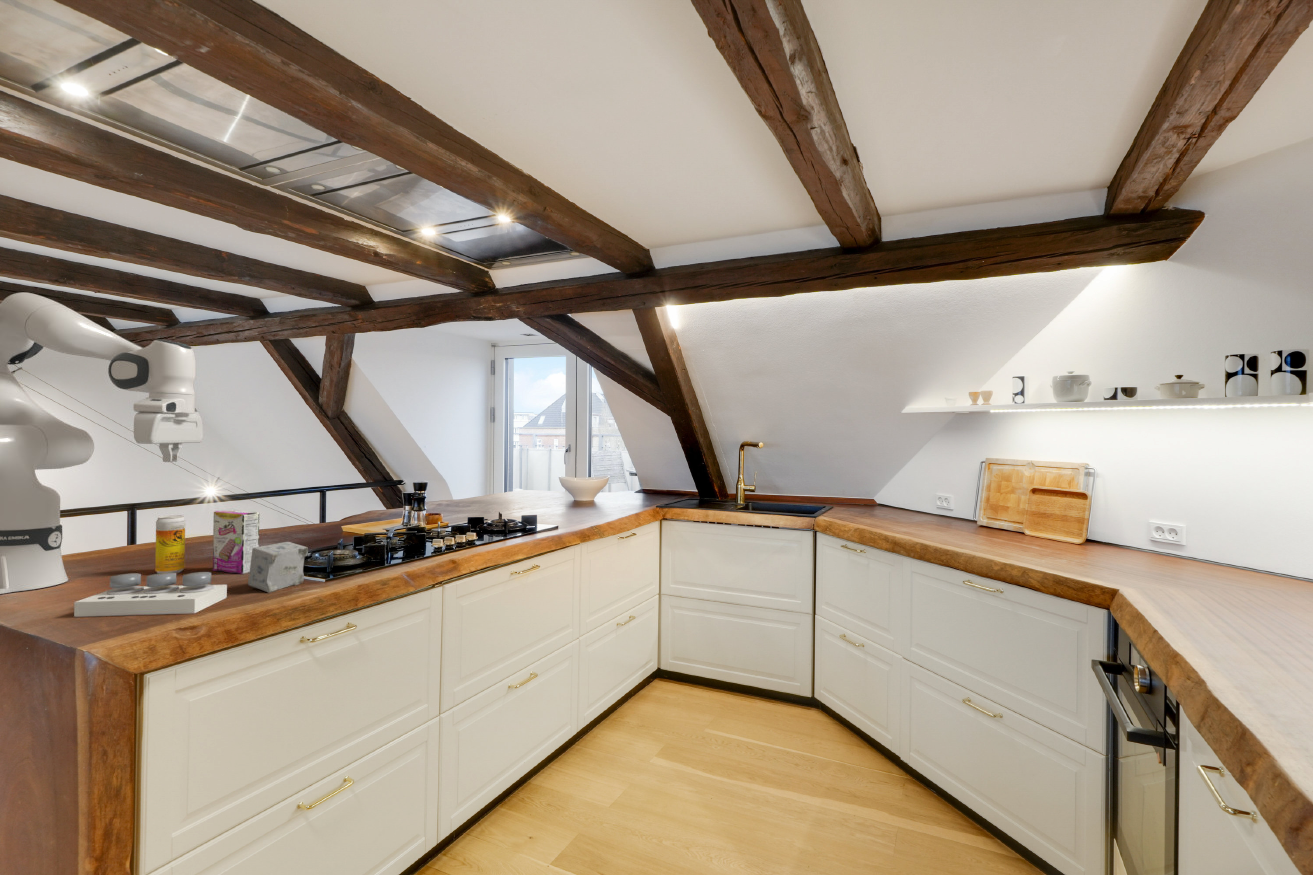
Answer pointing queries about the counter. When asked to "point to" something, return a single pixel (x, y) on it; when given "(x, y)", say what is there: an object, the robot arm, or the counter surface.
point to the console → (150, 600)
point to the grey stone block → (277, 566)
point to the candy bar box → (234, 540)
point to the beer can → (170, 544)
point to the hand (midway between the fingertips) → (170, 461)
